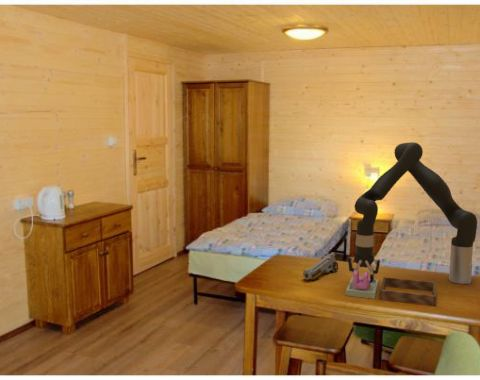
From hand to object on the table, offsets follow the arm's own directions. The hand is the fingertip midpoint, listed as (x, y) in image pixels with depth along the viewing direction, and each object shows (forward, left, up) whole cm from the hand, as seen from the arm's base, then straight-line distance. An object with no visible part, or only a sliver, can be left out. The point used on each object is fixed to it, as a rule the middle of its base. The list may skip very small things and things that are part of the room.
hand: (363, 281), depth 226 cm
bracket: (0, 0, -1) cm, 1 cm away
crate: (-19, 0, -4) cm, 19 cm away
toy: (+21, -13, -4) cm, 26 cm away
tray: (0, 0, -4) cm, 4 cm away
